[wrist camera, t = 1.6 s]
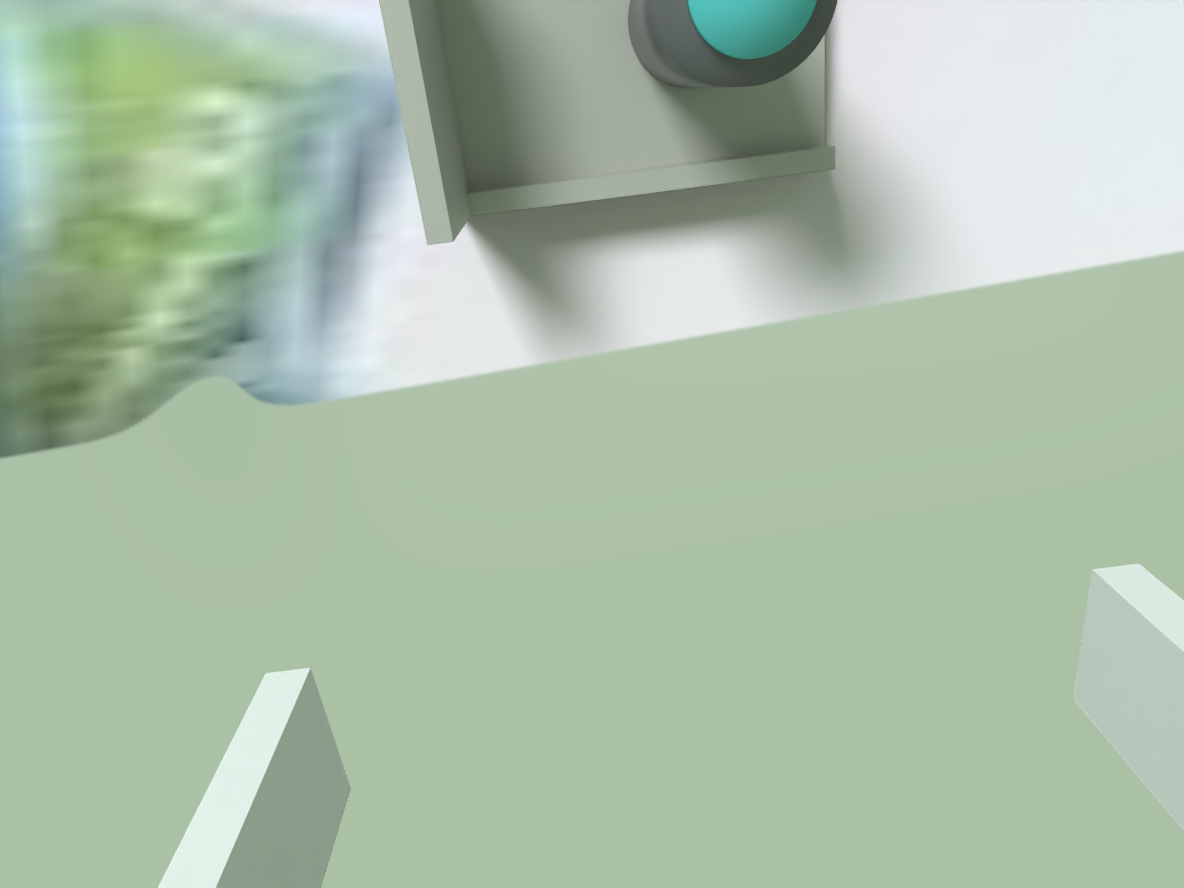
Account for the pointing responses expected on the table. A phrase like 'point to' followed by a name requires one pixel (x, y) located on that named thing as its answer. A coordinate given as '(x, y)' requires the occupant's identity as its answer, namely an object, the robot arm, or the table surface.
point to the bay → (575, 111)
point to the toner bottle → (725, 39)
